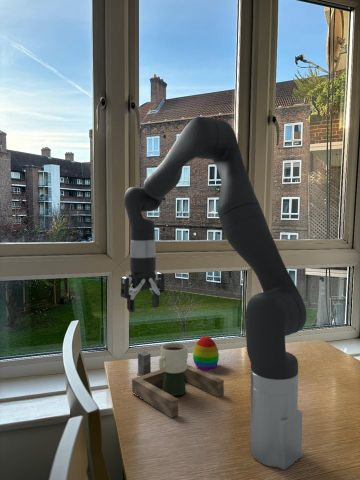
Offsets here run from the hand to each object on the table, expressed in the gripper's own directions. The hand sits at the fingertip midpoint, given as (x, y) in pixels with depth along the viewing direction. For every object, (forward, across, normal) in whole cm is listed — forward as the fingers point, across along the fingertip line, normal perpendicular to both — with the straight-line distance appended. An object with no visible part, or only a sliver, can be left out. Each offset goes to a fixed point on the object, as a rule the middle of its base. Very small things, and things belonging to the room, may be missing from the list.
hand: (143, 309), depth 114 cm
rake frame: (+20, 0, -12) cm, 24 cm away
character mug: (+21, 0, -14) cm, 25 cm away
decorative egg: (+21, +19, -7) cm, 29 cm away
